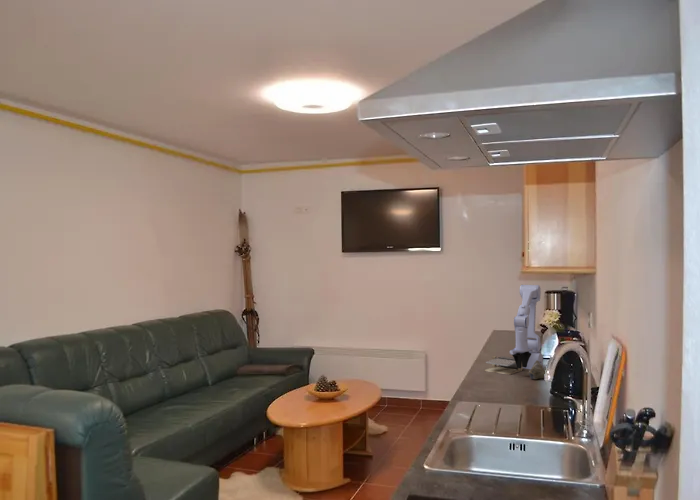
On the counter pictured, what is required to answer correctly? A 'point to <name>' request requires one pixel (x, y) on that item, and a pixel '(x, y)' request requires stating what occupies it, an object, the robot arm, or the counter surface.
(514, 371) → the frame
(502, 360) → the trapdoor
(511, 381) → the counter surface
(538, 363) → the rock
